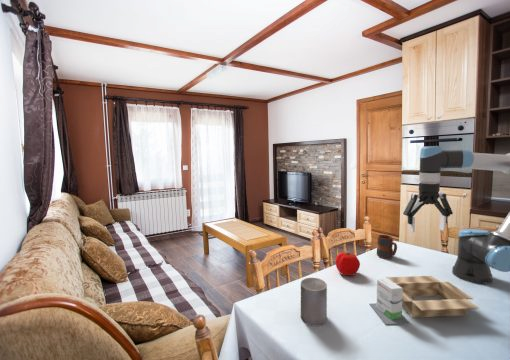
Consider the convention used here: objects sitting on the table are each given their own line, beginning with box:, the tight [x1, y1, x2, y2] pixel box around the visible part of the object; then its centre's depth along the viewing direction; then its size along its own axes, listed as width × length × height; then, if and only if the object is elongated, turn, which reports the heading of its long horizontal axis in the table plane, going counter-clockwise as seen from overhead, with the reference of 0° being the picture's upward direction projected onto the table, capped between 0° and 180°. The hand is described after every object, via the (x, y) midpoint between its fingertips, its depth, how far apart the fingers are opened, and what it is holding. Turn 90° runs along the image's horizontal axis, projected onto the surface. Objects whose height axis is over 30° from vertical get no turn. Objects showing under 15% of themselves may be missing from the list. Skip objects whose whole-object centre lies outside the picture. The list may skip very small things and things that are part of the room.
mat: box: [368, 302, 411, 326], centre depth 104 cm, size 9×13×1 cm
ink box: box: [376, 277, 403, 320], centre depth 103 cm, size 9×5×12 cm, turn 14°
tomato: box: [335, 251, 361, 276], centre depth 137 cm, size 12×12×11 cm
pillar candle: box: [300, 277, 328, 327], centre depth 101 cm, size 10×10×15 cm
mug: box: [376, 234, 398, 260], centre depth 156 cm, size 9×12×12 cm
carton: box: [385, 275, 480, 318], centre depth 108 cm, size 27×25×6 cm
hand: (427, 230), depth 118 cm, fingers open, 13 cm apart
